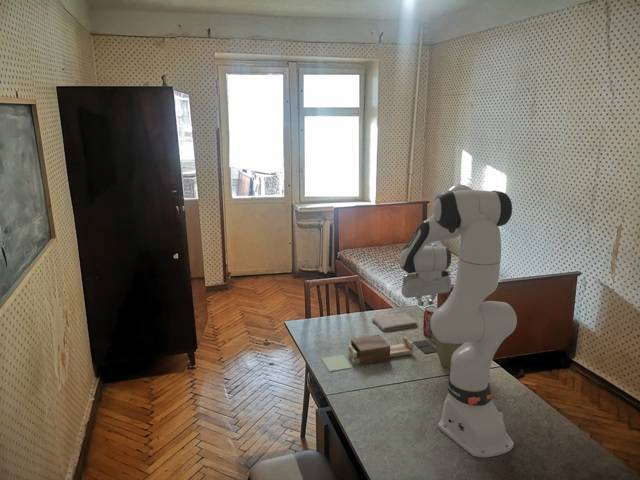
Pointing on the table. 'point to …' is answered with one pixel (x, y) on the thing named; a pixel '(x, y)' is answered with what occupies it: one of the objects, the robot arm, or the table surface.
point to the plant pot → (445, 352)
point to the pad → (336, 363)
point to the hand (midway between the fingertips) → (425, 304)
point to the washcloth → (394, 321)
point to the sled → (394, 350)
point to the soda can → (428, 320)
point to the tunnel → (372, 349)
